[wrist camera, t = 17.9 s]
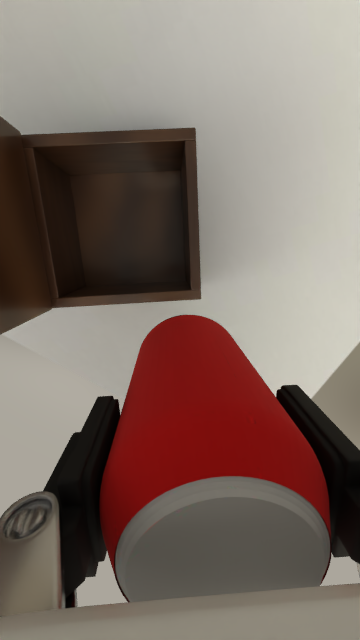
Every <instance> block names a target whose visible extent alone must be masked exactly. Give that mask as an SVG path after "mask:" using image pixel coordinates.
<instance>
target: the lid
mask: <svg viewBox="0 0 360 640" xmlns="http://www.w3.org/2000/svg"><path fill="white" fill-rule="evenodd" d="M51 309H52V303H51V298H50V292H49V287H48V281H47V276H46V270H45V265H44V259H43V254H42V248H41V243H40V238H39V232H38V227H37V221H36V216H35V210H34V205H33V199H32V194H31V188H30V183H29V177H28V172H27V166H26V161H25V155H24V150H23V144H22V139H21V133H20V131H18V130H17V129H16V128H14V127H13V126H12V125H11V124H9V123H8V122H7V121H6V120H4V119H3V118H2V117H1V116H0V334H2V333H5V332H7V331H9V330H11V329H13V328H15V327H17V326H19V325H21V324H23V323H25V322H27V321H29V320H31V319H33V318H35V317H37V316H39V315H41V314H43V313H45V312H47V311H49V310H51Z"/></svg>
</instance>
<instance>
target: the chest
mask: <svg viewBox="0 0 360 640" xmlns="http://www.w3.org/2000/svg"><path fill="white" fill-rule="evenodd" d="M21 139H22V144H23V150H24V155H25V161H26V166H27V172H28V177H29V183H30V188H31V194H32V199H33V205H34V210H35V216H36V221H37V227H38V232H39V238H40V243H41V248H42V254H43V259H44V265H45V270H46V276H47V281H48V287H49V292H50V298H51V303H52V308H59V307H76V306H93V305H110V304H127V303H144V302H161V301H177V300H194V299H201V290H200V289H201V282H200V251H199V219H198V188H197V157H196V129H195V128H176V129H153V130H129V131H105V132H82V133H58V134H34V135H21Z"/></svg>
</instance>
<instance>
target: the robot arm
mask: <svg viewBox="0 0 360 640" xmlns="http://www.w3.org/2000/svg"><path fill="white" fill-rule="evenodd" d="M276 398H277V400H278V401H279V403H280V404H281V405H282V407H283V408H284V409H285V411H286V412H287V414H288V415H289V416H290V418H291V419H292V420H293V422H294V423H295V425H296V426H297V427H298V429H299V430H300V431H301V433H302V434H303V435H304V437H305V438H306V440H307V441H308V443H309V444H310V446H311V447H312V449H313V451H314V453H315V455H316V457H317V459H318V461H319V463H320V466H321V468H322V471H323V474H324V477H325V480H326V485H327V490H328V495H329V509H330V528H331V547H332V554H333V556H334V557H346V556H350V557H351V559H352V560H354V561H355V562H357V567H358V572H359V576H360V450H359V449H358V448H357V447H356V446H355V445H354V444H353V443H352V442H351V441H350V440H349V439H348V438H347V437H346V436H345V435H344V434H343V432H342V431H341V430H340V429H339V428H338V427H337V426H336V425H335V424H334V423H333V422H332V421H331V420H330V419H329V418H328V417H327V416H326V415H325V414H324V412H323V411H321V409H320V408H319V407H318V406H317V405H316V404H315V403H314V402H313V401H312V400H311V399H310V398H309V397H308V396H307V395H306V394H305V393H304V391H303V390H302V389H301V388H300V387H299V386H298V385H284V386H282V387H281V389H278V390H277V395H276ZM119 419H120V410H119V402H118V399H114V398H113V396H103V397H98V398H97V400H96V402H95V404H94V406H93V408H92V410H91V412H90V414H89V416H88V418H87V420H86V422H85V424H84V426H83V428H82V431H81V432H76V433H74V434H73V435H72V437H71V438H70V440H69V442H68V444H67V446H66V448H65V450H64V452H63V454H62V456H61V458H60V459H59V461H58V463H57V465H56V467H55V469H54V471H53V473H52V475H51V477H50V479H49V481H48V482H47V484H46V486H45V488H44V490H43V492H36V493H32V494H29V495H27V496H25V497H23V498H21V499H19V500H18V501H16V502H15V503H14V504H12V505H11V506H10V507H9V508H8V509H7V510H6V511H5V512H4V513H3V515H2V516H1V518H0V640H360V583H358V584H344V585H333V586H318V587H305V588H293V589H280V590H268V591H256V592H244V593H232V594H220V595H208V596H196V597H184V598H173V599H162V600H151V601H139V602H128V603H117V604H107V605H95V606H84V607H77V593H76V588H77V587H78V586H79V585H80V584H81V583H82V582H84V581H85V577H93V576H95V574H96V571H97V566H98V562H100V561H104V559H105V556H106V551H107V548H106V545H105V542H104V538H103V534H102V529H101V524H100V512H99V500H100V488H101V482H102V477H103V473H104V470H105V466H106V463H107V460H108V456H109V453H110V449H111V446H112V443H113V439H114V436H115V432H116V429H117V426H118V422H119Z"/></svg>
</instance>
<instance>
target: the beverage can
mask: <svg viewBox="0 0 360 640" xmlns="http://www.w3.org/2000/svg"><path fill="white" fill-rule="evenodd" d="M99 512H100V524H101V529H102V534H103V538H104V542H105V545H106V548H107V551H108V555H109V558H110V561H111V565H112V568H113V571H114V574H115V578H116V581H117V584H118V586H119V588H120V590H121V592H122V594H123V596H124V597H125V598H126V600H127V601H128V602H139V601H151V600H162V599H173V598H184V597H196V596H208V595H220V594H232V593H244V592H256V591H268V590H280V589H293V588H305V587H318V586H320V585H321V583H322V581H323V579H324V578H325V575H326V573H327V570H328V568H329V564H330V560H331V552H332V547H331V528H330V509H329V495H328V490H327V485H326V480H325V477H324V474H323V471H322V468H321V466H320V463H319V461H318V459H317V457H316V455H315V453H314V451H313V449H312V447H311V446H310V444H309V443H308V441H307V440H306V438H305V437H304V435H303V434H302V433H301V431H300V430H299V429H298V427H297V426H296V425H295V423H294V422H293V420H292V419H291V418H290V416H289V415H288V414H287V412H286V411H285V409H284V408H283V407H282V405H281V404H280V403H279V401H278V400H277V398H276V397H275V396H274V394H273V393H272V392H271V390H270V389H269V387H268V386H267V385H266V383H265V382H264V381H263V379H262V378H261V376H260V375H259V374H258V372H257V371H256V370H255V368H254V367H253V366H252V364H251V363H250V361H249V360H248V359H247V357H246V356H245V355H244V353H243V352H242V350H241V349H240V348H239V346H238V345H237V344H236V342H235V341H234V339H233V338H232V337H231V335H230V334H229V333H228V332H227V331H226V330H225V329H224V328H223V327H222V326H221V325H219V324H218V323H216V322H215V321H213V320H211V319H208V318H206V317H202V316H197V315H180V316H175V317H171V318H169V319H167V320H165V321H163V322H161V323H160V324H158V325H157V326H156V327H155V328H153V329H152V330H151V331H150V332H149V334H148V335H147V336H146V338H145V339H144V341H143V343H142V345H141V348H140V351H139V354H138V358H137V361H136V364H135V368H134V371H133V375H132V378H131V381H130V385H129V388H128V392H127V395H126V398H125V402H124V405H123V409H122V412H121V415H120V419H119V422H118V426H117V429H116V432H115V436H114V439H113V443H112V446H111V449H110V453H109V456H108V460H107V463H106V466H105V470H104V473H103V477H102V482H101V488H100V500H99Z"/></svg>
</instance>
